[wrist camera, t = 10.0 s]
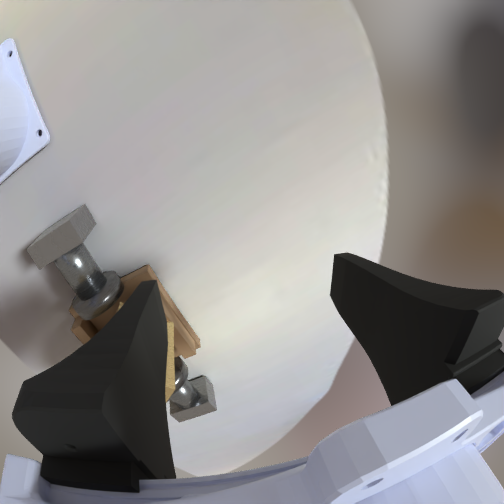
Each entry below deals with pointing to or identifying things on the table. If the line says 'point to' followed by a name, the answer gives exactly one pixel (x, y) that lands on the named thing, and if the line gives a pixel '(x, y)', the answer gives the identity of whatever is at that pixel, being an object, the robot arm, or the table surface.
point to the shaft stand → (117, 304)
